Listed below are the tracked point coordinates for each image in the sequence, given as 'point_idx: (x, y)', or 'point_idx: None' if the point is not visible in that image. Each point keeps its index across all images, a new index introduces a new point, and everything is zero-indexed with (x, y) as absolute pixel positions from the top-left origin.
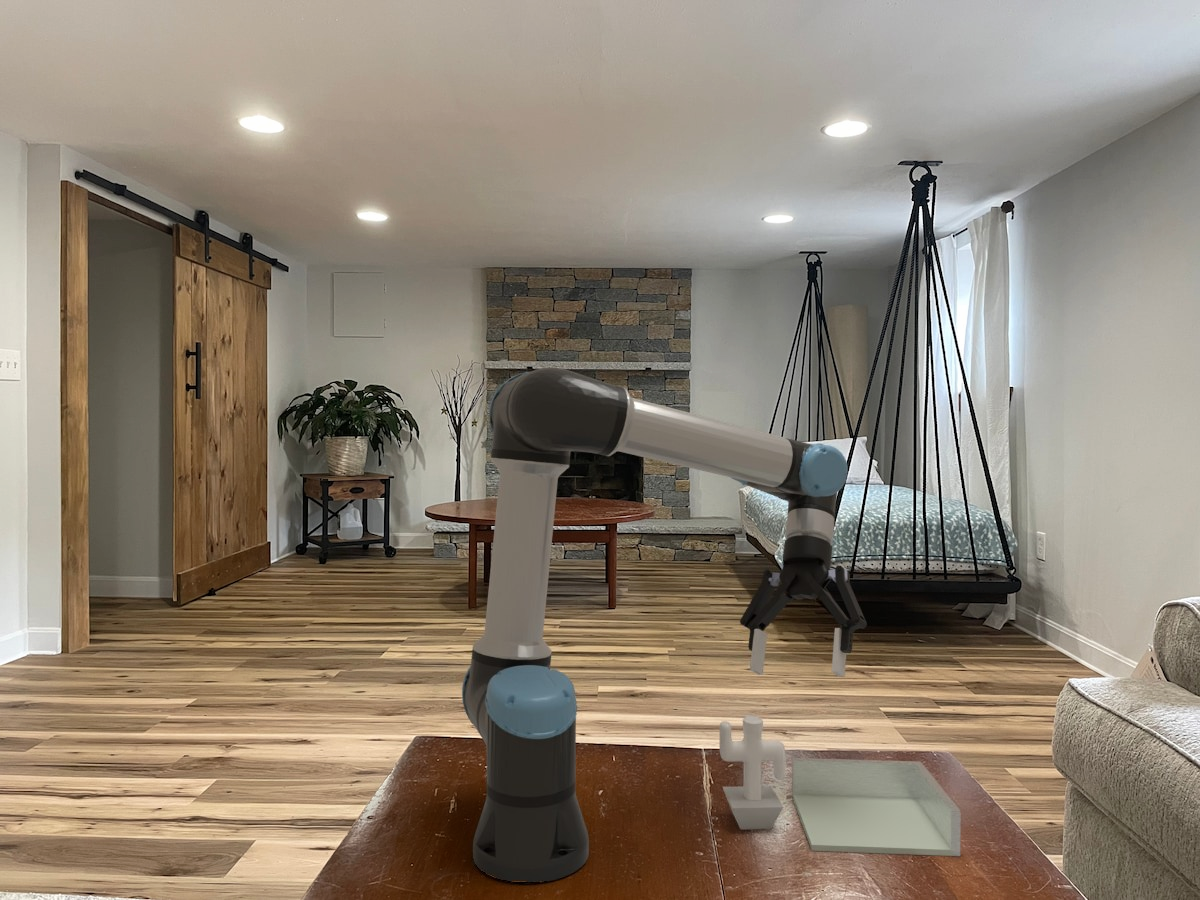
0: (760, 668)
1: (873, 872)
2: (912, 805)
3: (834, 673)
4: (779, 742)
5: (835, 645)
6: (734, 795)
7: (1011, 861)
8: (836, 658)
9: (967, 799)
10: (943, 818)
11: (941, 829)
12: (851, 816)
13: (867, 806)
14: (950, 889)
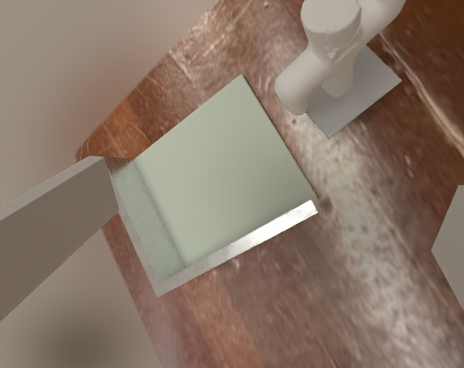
0: (448, 247)
1: (181, 79)
2: (183, 247)
3: (108, 175)
4: (281, 79)
5: (13, 206)
6: (364, 64)
7: None
8: (55, 177)
9: (151, 308)
10: (127, 178)
11: (140, 184)
12: (229, 175)
13: (222, 215)
14: (127, 97)
